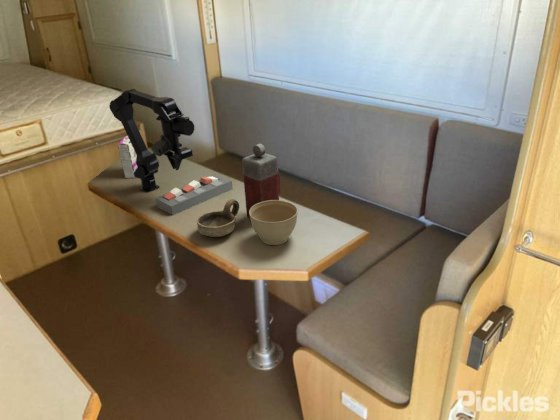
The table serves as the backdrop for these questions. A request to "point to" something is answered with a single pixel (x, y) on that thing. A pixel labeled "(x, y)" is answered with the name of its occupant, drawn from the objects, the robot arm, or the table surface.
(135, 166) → the candy bar box
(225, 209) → the bowl
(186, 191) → the block
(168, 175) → the table surface
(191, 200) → the power board
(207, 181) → the rocker
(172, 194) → the rocker
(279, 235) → the planter bowl
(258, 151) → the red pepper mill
